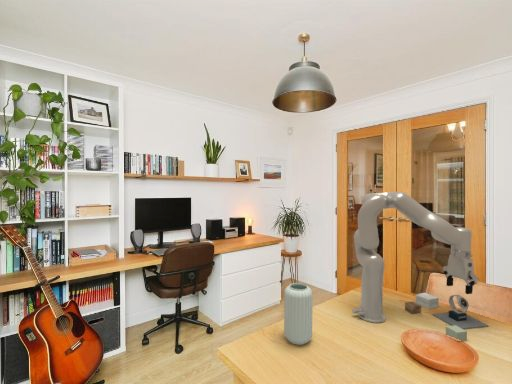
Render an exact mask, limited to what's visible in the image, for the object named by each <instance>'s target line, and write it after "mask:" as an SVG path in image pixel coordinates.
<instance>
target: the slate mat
mask: <svg viewBox="0 0 512 384" xmlns="http://www.w3.org/2000/svg"><path fill="white" fill-rule="evenodd" d="M432 316H433V317H435V318H437V319H439V320H440V321H442V322H444V323H446V324H447V325H448V326H453V325H456V326H458V327H460V328H462V329H464V330H470V329H471V330H472V329H478V328H487V327H489V324H486V323H485V322H483V321H481V320H478V319H477V318H475V317H472V316H470V315H468V314H467V320H464V321H456V320H454V319H452V318H450V317H449V311H448V312H437V313H432Z"/></svg>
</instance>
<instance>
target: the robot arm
mask: <svg viewBox="0 0 512 384" xmlns="http://www.w3.org/2000/svg"><path fill="white" fill-rule="evenodd" d="M386 209H395V210H396V211H398V212H399V213H400V214H402V215H403V216H404V217H406V218H407V219H408V220H410V221H411V222H412V223H413V224H416V225H417V226H419V227H422V228H425V229H426V230H429V231H430V233H431V237H432V238H433V239H435V240H436V241H438V242H440V243H443V244H446V245H450V254H449V255H448V259H447V260H448V261H447V265H445V266H442V270H443V273H444V275H445V278H446V287H453V286H454V277H455V278H457V279H459V280H462V281H463V280H464V282H465V283H466V284H465V288H464V289H465V291H464V293H465V294H466V295H472V294H473V289H474V288H473V287H474V286H475V285H476V284H478V281H479V279H480V278H479V277H478V276H477V275H476V274H475V267H474V265H475V264H474V261H473V258H472V257H473V254H472V252H471V251H472V235H473V234H472V233H473V232H472V229H470V228H468V227H461V226H456V227H455V226H454V225H452V224H451V223H450V222H448V221H447V220H445V219H444V218H442V217H440V216H439V215H437V214H435V213H433V212H432V211H431V210H429V209H427V208H426V207H424V206H423V205H422V204H420V202H418V201H416V200H415V199H414V198H413V197H411V196H410V195H408V194H407V193H406V192H402V191H388V192H387V191H386V192H374V193H370V192H369V193H367V194H365V195H364V196H362V199H361V206H360V208H359V210H358V213H357V226H358V228H357V229H356V231H355V232H354V234H353V242H354V249H355V257H356V260H357V262H358V263H359V264H360V266H361V267H362V273H361V282H360V283H361V291H360V293H361V295H360V296H361V297H360V301H361V302H360V305H358V308H353V309H351V313H352V314H357V316H358V318H360V319H361V320H364V321H366V322H369V323H373V324H375V323H376V324H377V323H379V324H380V323H381V324H382V323H384V322H385V321H386V320H387V319H386V318H387V316H386V314H384V313H383V301H384V299H383V296H384V295H383V294H384V293H383V292H384V291H383V289H384V288H383V286H384V281H383V280H384V273H385V267H386V265H385V260H384V258H383V257H382V256H381V254H379V253H377V252H376V251H375V250H376V249H378V247H379V244H380V239H379V231H378V222H377V221H378V220H377V218H378V216H379V214H380V213H381V212H382V211H383V210H386Z"/></svg>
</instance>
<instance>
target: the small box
mask: <svg viewBox="0 0 512 384" xmlns="http://www.w3.org/2000/svg"><path fill="white" fill-rule="evenodd" d="M439 302H440V301H439V297H438V296H435V295H432V294H430V293H427V292H421V293H417V294H415V303H417V304H419V305H421V307H423V308H425V309H427V310H431V309H435V308H436V309H437V308H439Z"/></svg>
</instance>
